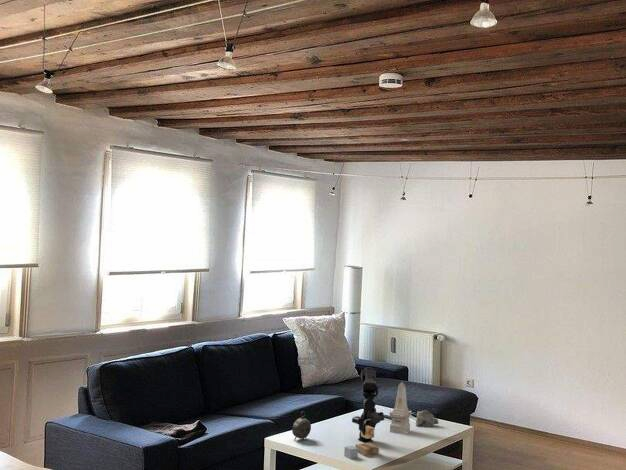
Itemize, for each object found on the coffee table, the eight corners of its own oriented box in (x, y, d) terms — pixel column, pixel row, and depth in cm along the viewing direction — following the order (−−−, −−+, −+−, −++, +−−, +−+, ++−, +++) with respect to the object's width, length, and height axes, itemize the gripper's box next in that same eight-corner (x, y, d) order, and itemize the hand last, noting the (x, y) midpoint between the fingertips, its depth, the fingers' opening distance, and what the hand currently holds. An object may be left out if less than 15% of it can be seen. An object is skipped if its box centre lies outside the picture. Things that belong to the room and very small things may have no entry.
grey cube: (351, 454, 358) (351, 445, 358) (357, 457, 354) (358, 448, 354) (344, 456, 355) (344, 446, 355) (350, 459, 351) (350, 449, 351)
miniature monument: (388, 432, 404) (391, 381, 404) (394, 427, 413) (396, 379, 413) (405, 434, 399) (407, 384, 399) (410, 430, 409) (413, 381, 409)
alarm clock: (305, 437, 385) (307, 408, 385) (312, 439, 381) (313, 411, 381) (291, 440, 378) (292, 411, 378) (297, 442, 374) (298, 413, 374)
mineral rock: (439, 426, 422) (439, 410, 422) (432, 430, 413) (433, 413, 413) (420, 422, 429) (420, 406, 429) (413, 426, 420) (413, 409, 420)
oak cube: (367, 434, 366) (368, 425, 366) (374, 437, 362) (374, 428, 362) (360, 436, 363) (361, 427, 363) (367, 438, 359) (367, 429, 359)
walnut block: (368, 449, 369) (369, 442, 369) (378, 454, 361) (378, 447, 361) (355, 451, 364) (355, 444, 364) (364, 456, 356) (365, 449, 356)
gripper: (365, 411, 350) (364, 441, 350) (391, 407, 362) (390, 436, 362) (352, 406, 359) (350, 435, 359) (377, 402, 371) (376, 430, 371)
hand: (367, 434), depth 363 cm, fingers closed on oak cube, 5 cm apart
